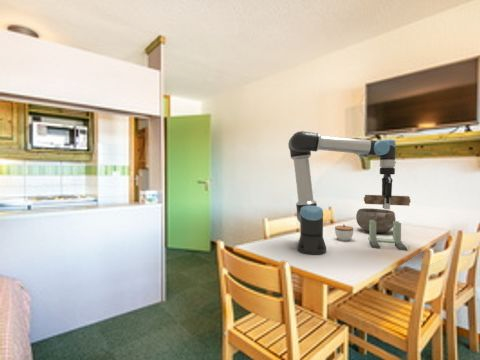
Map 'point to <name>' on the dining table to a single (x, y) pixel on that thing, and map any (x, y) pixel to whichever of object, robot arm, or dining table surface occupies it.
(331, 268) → the dining table surface
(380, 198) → the rail
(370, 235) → the rack
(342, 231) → the lidded jar
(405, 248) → the rests
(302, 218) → the robot arm
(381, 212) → the bowl
